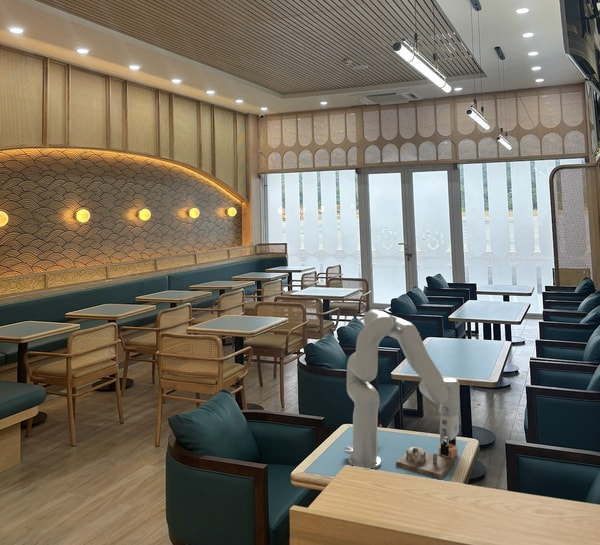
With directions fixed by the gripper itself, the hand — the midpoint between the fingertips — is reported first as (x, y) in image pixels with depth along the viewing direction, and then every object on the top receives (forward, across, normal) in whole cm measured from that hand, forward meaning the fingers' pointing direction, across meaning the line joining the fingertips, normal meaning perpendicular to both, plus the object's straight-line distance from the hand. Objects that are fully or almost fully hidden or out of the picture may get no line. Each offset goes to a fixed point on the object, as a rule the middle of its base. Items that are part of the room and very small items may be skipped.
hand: (448, 451), depth 213 cm
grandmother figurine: (+2, -4, +32) cm, 32 cm away
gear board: (+1, -14, +4) cm, 15 cm away
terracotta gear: (+1, 0, 0) cm, 1 cm away
